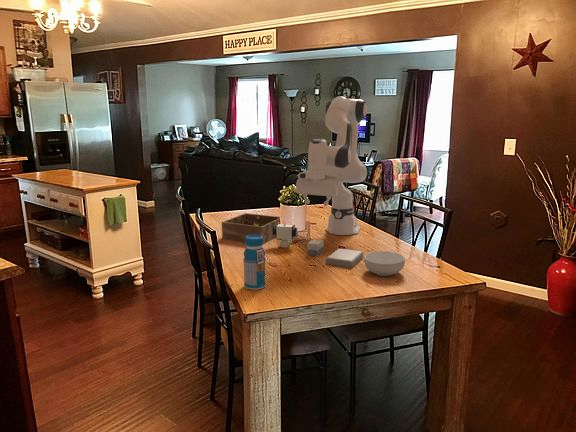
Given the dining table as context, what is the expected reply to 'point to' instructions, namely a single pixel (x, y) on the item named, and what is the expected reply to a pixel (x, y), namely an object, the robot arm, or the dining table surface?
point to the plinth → (344, 258)
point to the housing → (315, 247)
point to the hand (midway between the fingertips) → (316, 204)
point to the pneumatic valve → (285, 233)
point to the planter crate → (249, 227)
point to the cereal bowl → (384, 262)
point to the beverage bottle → (254, 263)
